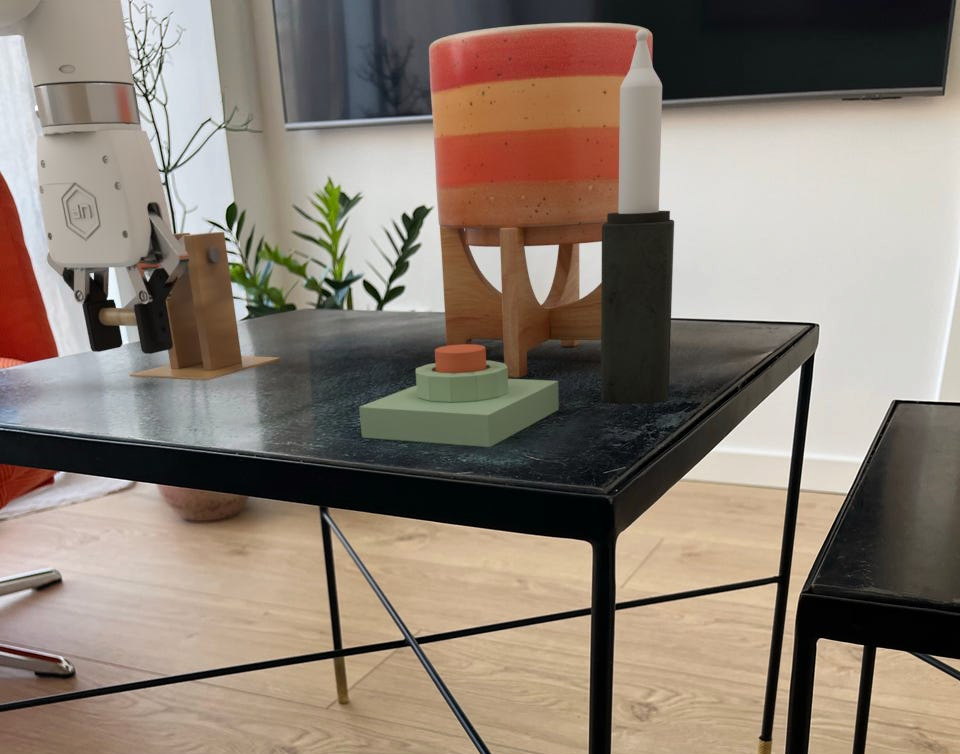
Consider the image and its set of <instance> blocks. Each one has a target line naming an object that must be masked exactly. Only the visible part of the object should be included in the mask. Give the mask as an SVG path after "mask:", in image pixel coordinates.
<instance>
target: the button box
mask: <svg viewBox="0 0 960 754" xmlns="http://www.w3.org/2000/svg"><path fill="white" fill-rule="evenodd" d="M559 404H560V403H559V381H558V380H547V379H546V380H545V379H525V378H523V379H521V378H508V368H507V366H506V364H505V363H504V362H499V361H494V360H486V370H483V371H477V372H470V373H439V372H436V362H433V363H428V364H424V365H422V366H419V367H416V368H415V385H413V386H410V387H408V388H405V389H402V390H400V391H397V392H395V393H392V394H389V395H387V396H384V397H382V398H379V399H376V400H373V401H370V402H369V403H366V404H363V405H360V406H358V409H359V410H358V411H359V418H360V419H359V420H360V421H359V422H360V429H361V430H360V431H361V438H363V439H379V440H390V441H391V440H392V441H405V442H415V443H432V444H444V445H457V446H471V447H484V448H491V447H493V446H495V445H496V444H498V443H500V442H502V441H504V440H506V439H508V438H509V437H511V436H514V435H515V434H516V433H518V432H520V431H523V430H524V429H526V428H528V427H529V426H532V425H534V424H536V423H537V422H539V421H541V420H543V419H544V418H546V417H548V416H550V415H552V414H554V413H556V412H557V411H559V409H560V408H559Z"/></svg>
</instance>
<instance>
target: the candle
mask: <svg viewBox="0 0 960 754" xmlns="http://www.w3.org/2000/svg"><path fill="white" fill-rule="evenodd" d="M647 38H648V33H647V31H646V30H645V29H640V30H639V31H638V32H637V34H636V39H637V45H636V48H635V52H634V56H633V59H632V63H631V67H630V70H629V72H628V74H627V76H626V77H625V79H624V81H623V83H622V85H621V87H620V129H619V212H618V213H608V214H607V223H605V224H603V225H602V241H601V282H602V285H601V340H600V401H601V402H602V403H606V404H660V403H665V402H667V401H668V394H669V393H670V390H669V389H670V365H671V364H670V363H671V362H670V361H671V335H672V334H671V333H672V332H671V330H672V301H673V274H674V273H673V271H674V270H673V269H674V267H673V266H674V246H675V245H674V243H675V242H674V239H675V220H674V219H671V210H660V187H661V185H660V183H661V147H662V114H663V113H662V110H663V109H662V108H663V84H662V81H661V79H660V77H659V76H658V74H657V72H656V71H655V69H654V67H653V60H652V61H651V57H650V53H649V49H648V45H647Z"/></svg>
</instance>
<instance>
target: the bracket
mask: <svg viewBox="0 0 960 754" xmlns="http://www.w3.org/2000/svg"><path fill="white" fill-rule="evenodd" d="M172 234H173V235H174V236H175V238H176V239H177V240H179V239H180V238H181V237H182V236H183V235H184V243H185V249H186V252H187V253H188V255H189V262H188V269H189V275H190V276H180V277H179V278H178V279H177V281H176V283H175V284H174V286H173V288H172V290H171V293H172V296H171V298H170V300H166V305H167V311H168V317H169V323H170V329H171V335H172V341H173V347H172V349H169V350H167V353H168V359H169V364H165V365H161V366H156V367H152V368H149V369H144V370H141V371H137V372H133V373H132V372H131V373H130V374H129V377H132V378H149V379H150V378H151V379H168V380H169V379H170V380H171V379H172V380H191V381H210V380H213V379H217V378H220V377H223V376H224V377H225V376H227V375H231V374H234V373H239V372H241V371H245V370H249V369H252V368H256V367H260V366H263V365H267V364H270V363H274V362H279V361H281V357H273V356H249V355H247V356H246V355H242V351H241V343H240V336H239V330H238V323H237V316H236V307H235V301H234V292H233V286H232V280H231V271H230V265H229V258H228V257H229V256H228V249H227V243H226V236H225V235H226V234H225V231H214V232H203V233H193V234H191V233H190V232H179V233H172ZM160 264H161V262H160Z"/></svg>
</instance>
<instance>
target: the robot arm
mask: <svg viewBox="0 0 960 754" xmlns="http://www.w3.org/2000/svg"><path fill="white" fill-rule="evenodd" d="M123 13H124V12H123V6H122V0H0V37H9V36H21V37H23V41H24V46H25V52H26V56H27V61H28V67H29V72H30V77H31V82H32V86H33V92H34V98H35V102H36V104H35V106H34V112H35V115H36V117H37V118H38V119H39V122H40V126H41V131H42V135H37V136H36V171H37V184H38V192H39V201H40V209H41V214H42V215H41V216H42V221H43V228H44V233H45V238H46V243H47V248H48V254H47V257H46V261H47V263H48V265H49V266H50V267H51V268H52V269H53V270H54V271H55V272H56V273H57V274H58V275H59V276H60V277H62V279H63V281H64V283H65V284H66V285H67V286H68V287H69V288H70V289H71V290H72V291H73V295H74V296H73V297H74V300H75V302H76V303H78V304H81V306H82V311H83V316H84V321H85V327H86V331H87V336H88V341H89V347H90V350H91V351H92V352H93V353H94V352H95V353H101V352H106V351H109V350H113V349H120V348H121V347H122V346H123V337H122V331H121V326H113V325H104V324H102V323H101V322H100V320H99V312H100V310H101V309H102V308H117V304H116V302H115V299H113V298H112V299H108V297H109V282H110V281H109V280H110V279H109V278H110V268H125V269H126V271H127V274H128V276H129V279H130V281H131V284H132V287H133V289H134V292H135V294H136V295H137V297H138V299H139V301H140V302H141V303H140V304H135V305H134V311H135V316H136V322H137V326H136V327H137V332H138V338H139V343H140V350H141V351H142V352H143V354H145V355H146V354H147V355H152V354H156V353H160V352H165V351H168V350H169V349H172V347H173V341H172V335H171V329H170V323H169V317H168V311H167V305H166V300H170V298H171V296H172V293H171V290H172V288H173V286H174V284H175V283H176V281H177V279H178V275H180V273H181V272H182V270H183V269H184V268H185V266H186V265H187V264H188V262H189V255H188V253H187V252H186V251H185V249H184V248H183V247H182V245H181V244H180V243H179V242H178V240H177V239H176V238H175V236H174V235H173V234H174V233H173V231H172V225H171V218H170V214H169V213H170V212H169V208H168V203H167V198H166V194H165V189H164V185H163V181H162V177H161V173H160V170H159V167H158V162H157V159H156V157H155V153H154V149H153V147H152V144H151V141H150V139H149V136H148V135H149V134H148V133H147V130H143V128H142V121H141V115H140V110H139V105H138V104H139V103H138V97H137V91H136V86H135V81H134V74H133V68H132V61H131V56H130V51H129V44H128V38H127V32H126V26H125V19H124V14H123ZM160 262H161V264H160ZM145 272H147V274H148V276H149V279H148V278H147V275H146V273H145ZM90 274H93V278H92V276H91V275H90Z"/></svg>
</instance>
